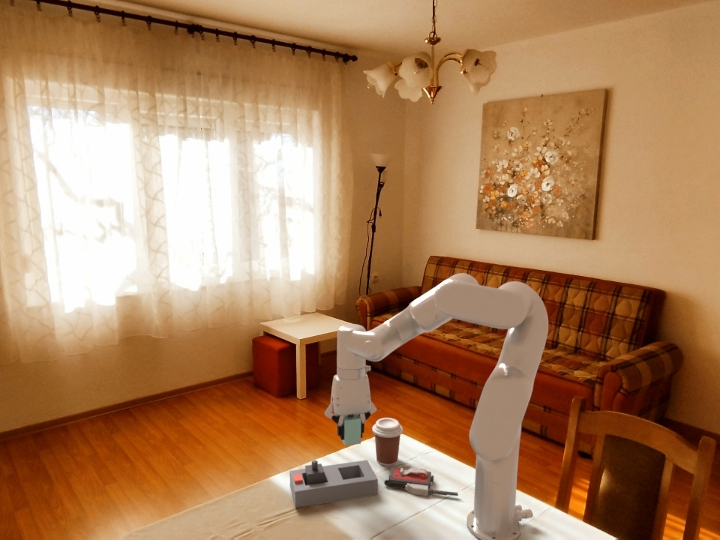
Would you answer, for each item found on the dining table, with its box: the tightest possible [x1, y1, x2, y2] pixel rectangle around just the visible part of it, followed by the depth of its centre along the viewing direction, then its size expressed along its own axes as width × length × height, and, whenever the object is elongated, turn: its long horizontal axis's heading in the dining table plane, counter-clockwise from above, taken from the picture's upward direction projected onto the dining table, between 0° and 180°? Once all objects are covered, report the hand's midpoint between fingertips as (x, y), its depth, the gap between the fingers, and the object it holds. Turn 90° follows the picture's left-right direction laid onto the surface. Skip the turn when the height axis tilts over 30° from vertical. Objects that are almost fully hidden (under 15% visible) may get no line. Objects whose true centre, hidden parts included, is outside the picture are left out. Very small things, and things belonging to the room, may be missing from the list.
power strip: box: [289, 459, 379, 509], centre depth 137 cm, size 22×10×9 cm, turn 105°
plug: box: [341, 414, 362, 447], centre depth 136 cm, size 4×4×9 cm
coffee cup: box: [371, 417, 404, 467], centre depth 152 cm, size 9×9×12 cm
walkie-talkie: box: [383, 467, 459, 497], centre depth 140 cm, size 9×4×20 cm
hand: (350, 436), depth 137 cm, fingers closed on plug, 4 cm apart
